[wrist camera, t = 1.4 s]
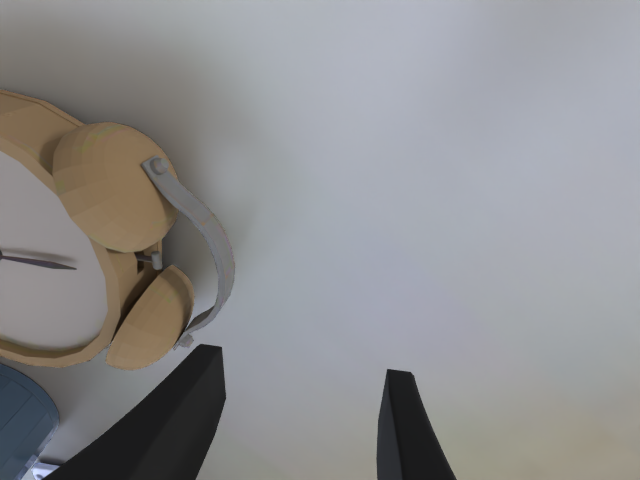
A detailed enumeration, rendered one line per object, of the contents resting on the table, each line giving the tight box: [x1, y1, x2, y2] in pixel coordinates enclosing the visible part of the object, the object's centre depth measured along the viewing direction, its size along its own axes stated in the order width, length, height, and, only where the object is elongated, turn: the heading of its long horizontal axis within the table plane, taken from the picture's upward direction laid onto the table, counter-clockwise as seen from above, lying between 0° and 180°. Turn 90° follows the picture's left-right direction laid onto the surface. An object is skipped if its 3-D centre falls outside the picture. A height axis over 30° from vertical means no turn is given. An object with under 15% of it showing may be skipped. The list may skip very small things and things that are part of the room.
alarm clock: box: [0, 90, 235, 370], centre depth 18 cm, size 11×5×15 cm
